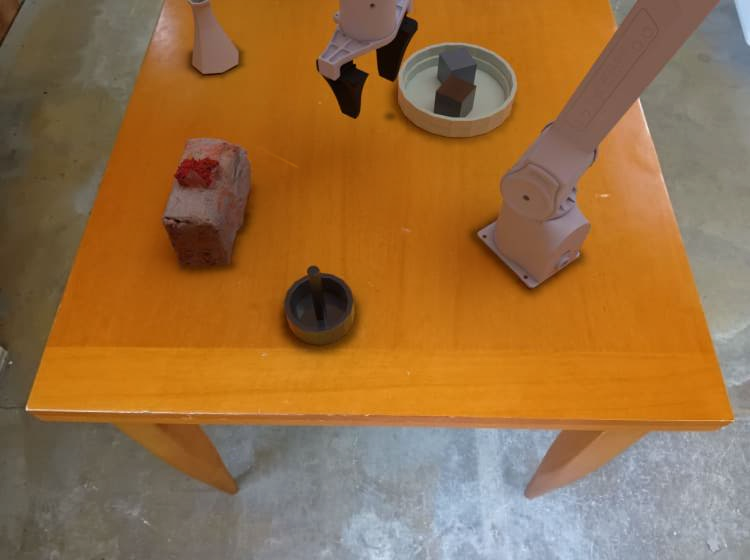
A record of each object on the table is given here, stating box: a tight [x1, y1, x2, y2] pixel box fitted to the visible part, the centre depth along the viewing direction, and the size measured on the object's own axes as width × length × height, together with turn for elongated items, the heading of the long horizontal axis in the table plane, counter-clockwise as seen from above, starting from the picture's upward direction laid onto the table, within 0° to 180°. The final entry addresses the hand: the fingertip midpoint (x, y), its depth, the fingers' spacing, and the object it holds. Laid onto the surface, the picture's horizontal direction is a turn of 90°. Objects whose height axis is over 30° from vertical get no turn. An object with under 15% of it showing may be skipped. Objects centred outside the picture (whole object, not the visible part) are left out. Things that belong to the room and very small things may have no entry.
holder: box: [283, 272, 356, 346], centre depth 61 cm, size 7×7×4 cm
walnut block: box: [434, 75, 477, 118], centre depth 77 cm, size 4×4×4 cm
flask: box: [186, 0, 240, 75], centre depth 82 cm, size 7×7×10 cm
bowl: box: [397, 42, 518, 138], centre depth 80 cm, size 16×16×4 cm
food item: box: [160, 137, 252, 266], centre depth 66 cm, size 14×8×10 cm, turn 178°
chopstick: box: [306, 265, 327, 320], centre depth 58 cm, size 1×1×9 cm
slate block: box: [437, 47, 477, 84], centre depth 81 cm, size 4×4×4 cm
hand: (369, 95), depth 67 cm, fingers open, 7 cm apart
